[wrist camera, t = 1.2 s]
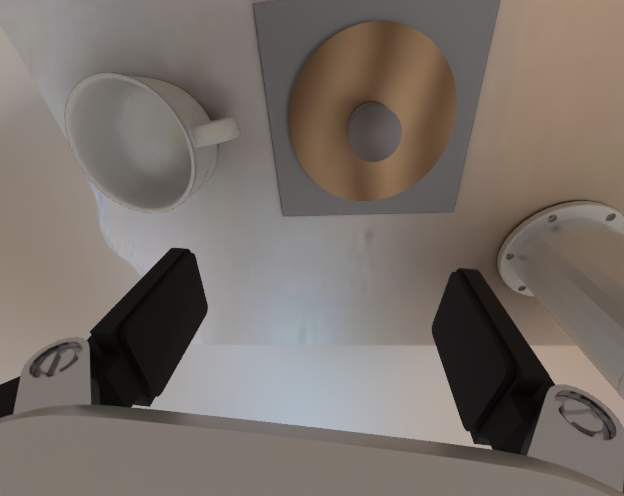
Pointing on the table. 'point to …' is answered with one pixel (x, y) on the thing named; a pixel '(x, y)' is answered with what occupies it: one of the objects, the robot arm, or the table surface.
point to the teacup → (143, 139)
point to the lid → (372, 111)
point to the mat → (335, 18)
